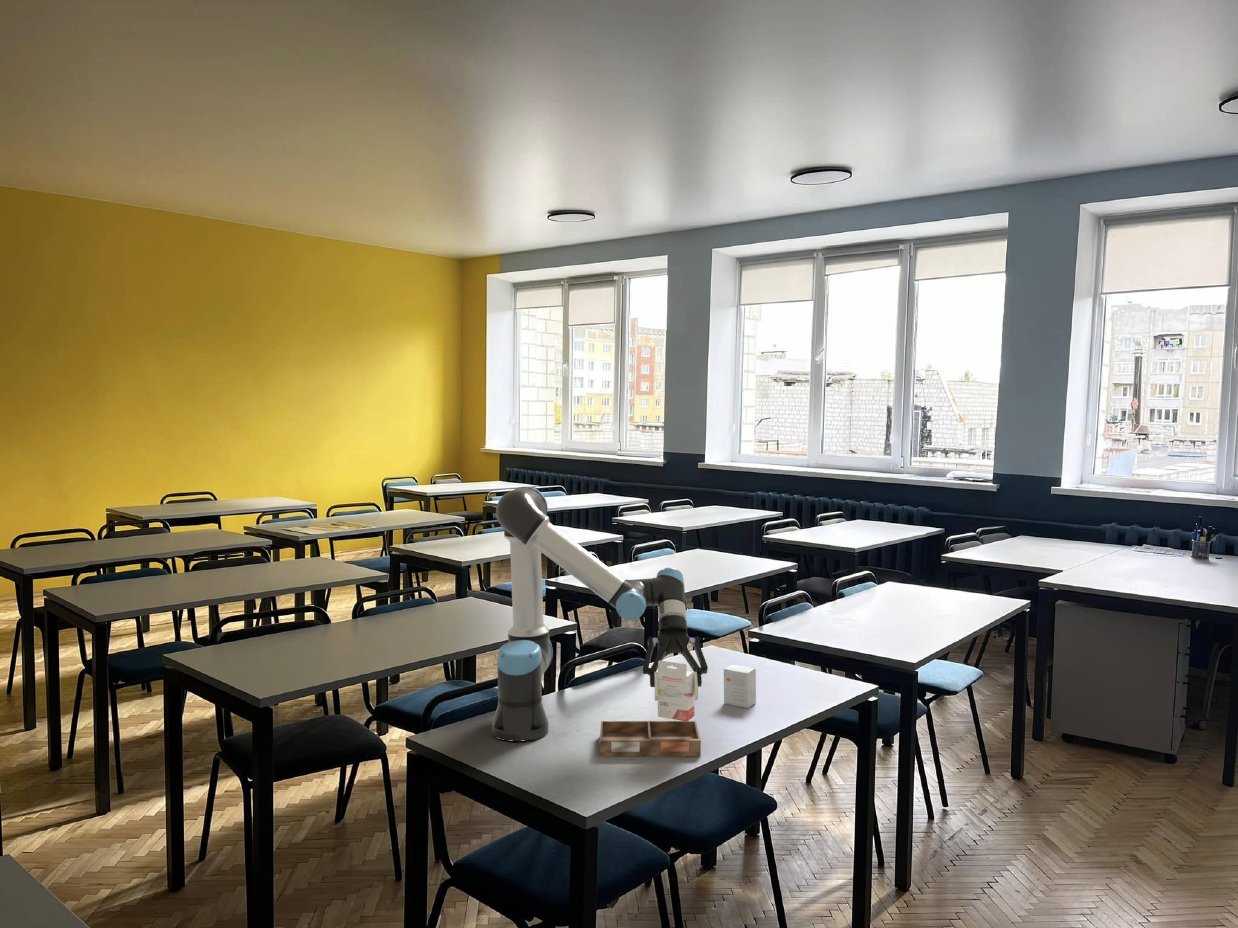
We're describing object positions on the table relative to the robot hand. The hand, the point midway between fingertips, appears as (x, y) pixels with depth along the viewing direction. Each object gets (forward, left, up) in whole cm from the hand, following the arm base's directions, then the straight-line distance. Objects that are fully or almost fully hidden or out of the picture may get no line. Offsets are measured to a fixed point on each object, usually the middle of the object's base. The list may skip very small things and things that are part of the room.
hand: (676, 697), depth 212 cm
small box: (+21, +35, -14) cm, 43 cm away
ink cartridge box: (0, +3, -6) cm, 7 cm away
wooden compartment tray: (-7, +3, -13) cm, 15 cm away
